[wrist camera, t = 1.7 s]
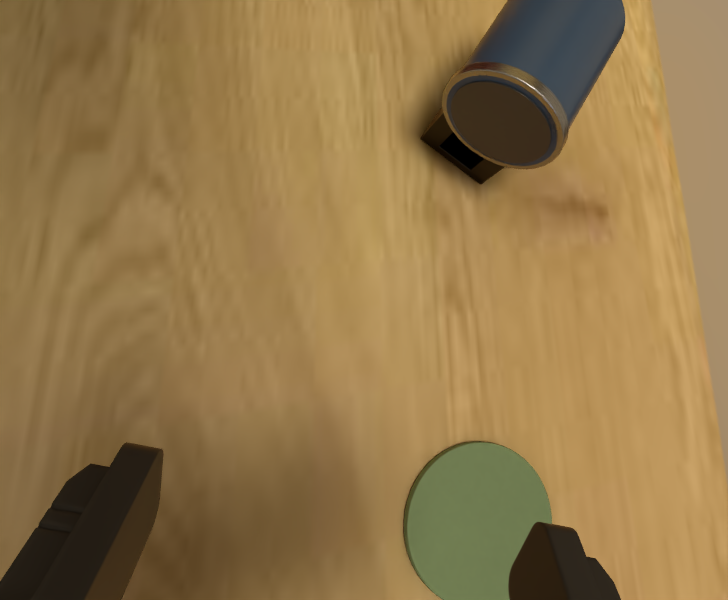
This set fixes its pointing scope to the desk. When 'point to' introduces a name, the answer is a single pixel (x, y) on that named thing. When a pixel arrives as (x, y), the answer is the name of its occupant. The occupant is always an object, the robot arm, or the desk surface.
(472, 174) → the cradle
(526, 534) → the mat
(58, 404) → the desk surface
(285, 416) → the desk surface
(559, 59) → the blue metal can
